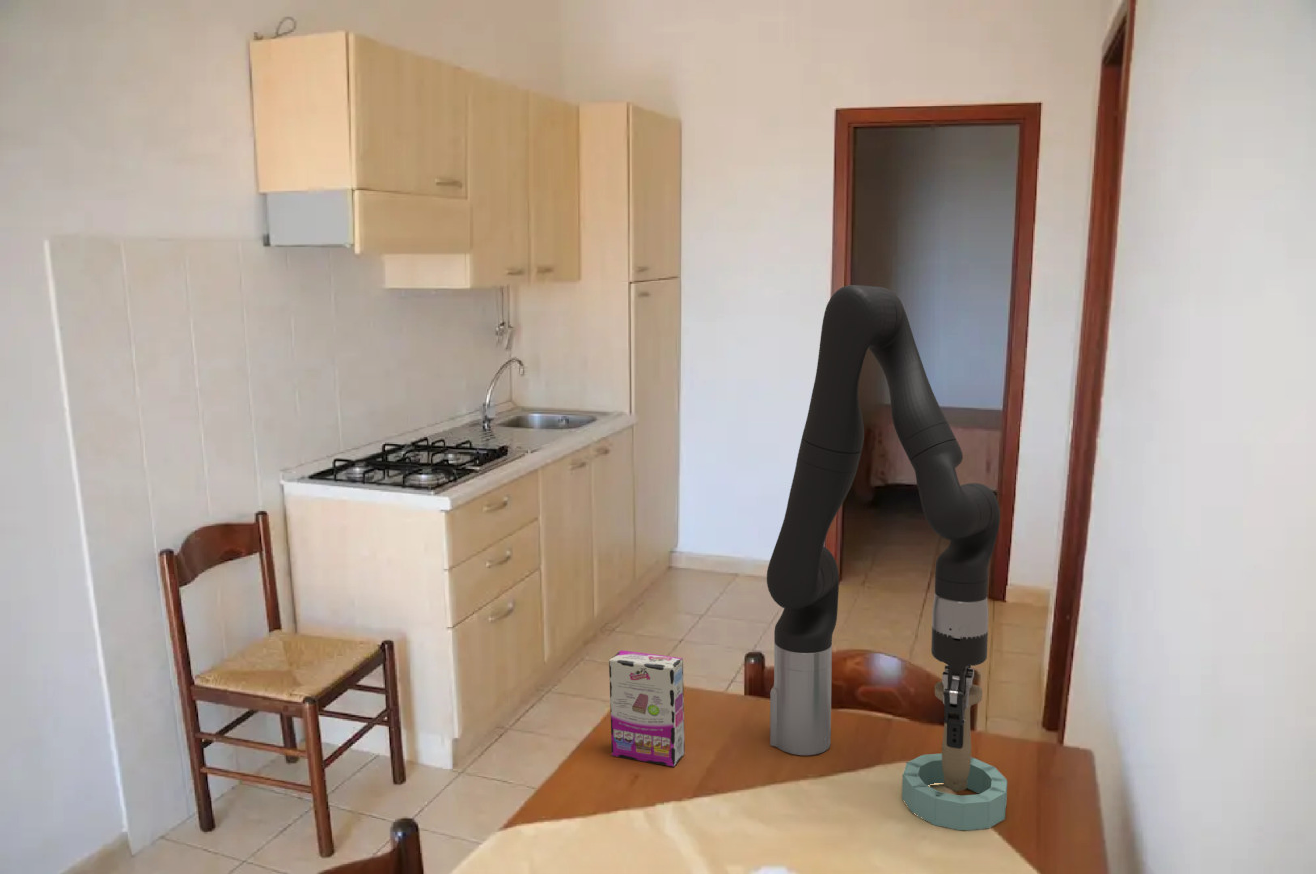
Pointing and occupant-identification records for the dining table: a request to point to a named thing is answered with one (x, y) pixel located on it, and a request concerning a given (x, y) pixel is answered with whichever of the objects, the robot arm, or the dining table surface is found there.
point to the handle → (954, 758)
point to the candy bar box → (647, 707)
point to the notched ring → (950, 807)
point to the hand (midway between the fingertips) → (956, 740)
